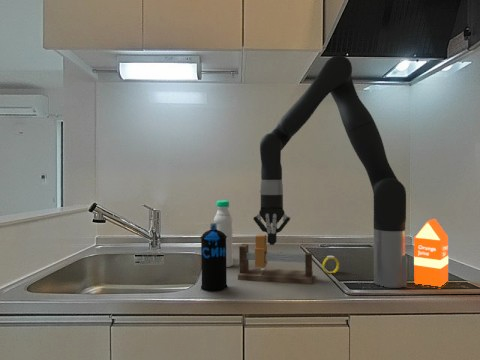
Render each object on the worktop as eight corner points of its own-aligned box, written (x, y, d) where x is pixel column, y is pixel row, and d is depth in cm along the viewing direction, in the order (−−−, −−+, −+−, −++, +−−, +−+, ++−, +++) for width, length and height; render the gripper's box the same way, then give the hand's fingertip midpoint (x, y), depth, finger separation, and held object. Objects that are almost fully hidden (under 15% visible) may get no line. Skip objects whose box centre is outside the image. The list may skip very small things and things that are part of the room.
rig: (312, 275, 128) (312, 245, 128) (311, 283, 118) (310, 250, 118) (244, 271, 134) (244, 242, 134) (237, 279, 124) (237, 248, 124)
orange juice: (413, 283, 118) (413, 220, 117) (422, 277, 124) (422, 217, 124) (441, 288, 112) (441, 222, 112) (448, 282, 119) (448, 219, 119)
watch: (325, 275, 129) (324, 258, 129) (321, 273, 132) (320, 256, 132) (340, 272, 131) (339, 256, 131) (336, 270, 134) (335, 254, 134)
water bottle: (212, 264, 145) (211, 200, 145) (229, 262, 148) (228, 199, 147) (217, 268, 139) (216, 201, 138) (235, 267, 141) (234, 200, 141)
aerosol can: (201, 283, 120) (200, 221, 119) (227, 283, 120) (226, 221, 120) (200, 291, 111) (199, 225, 111) (227, 291, 112) (227, 224, 112)
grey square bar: (306, 261, 125) (305, 253, 125) (305, 263, 122) (305, 254, 122) (247, 258, 130) (247, 250, 130) (246, 260, 127) (245, 252, 127)
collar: (267, 263, 130) (266, 234, 130) (264, 267, 124) (263, 237, 124) (258, 262, 131) (258, 233, 131) (255, 267, 125) (254, 236, 125)
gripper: (292, 192, 128) (292, 243, 128) (254, 192, 131) (255, 241, 132) (290, 194, 121) (290, 247, 121) (250, 193, 124) (250, 245, 124)
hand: (272, 244), depth 126 cm, fingers closed
